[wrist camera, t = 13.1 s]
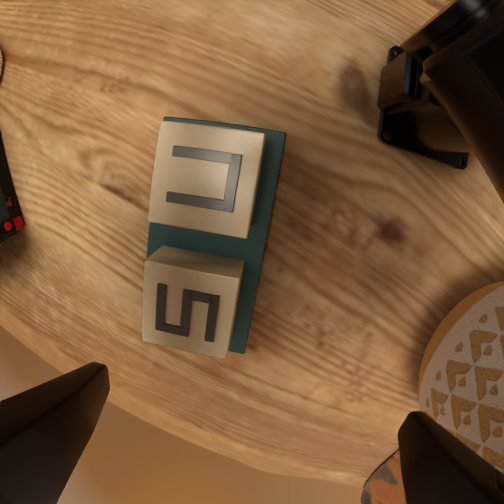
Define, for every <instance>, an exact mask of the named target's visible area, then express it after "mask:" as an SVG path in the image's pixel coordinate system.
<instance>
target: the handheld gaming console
mask: <svg viewBox="0 0 504 504" xmlns="http://www.w3.org/2000/svg"><path fill="white" fill-rule="evenodd" d="M21 215H22V214H21V211H20V207H19V204H18V201H17V198H16V195H15V191H14V188H13V184H12V181H11V177H10V173H9V170H8V166H7V162H6V157H5V153H4V149H3V144H2V139H1V134H0V243H2V242H3V241H5V240H6V239H8V238H9V237H11V236H12V235H14V234H15V233H17V232H18V231H19V229H21V228H22V227H23V226H24V223H23V220H22V217H21ZM19 216H20V217H19Z"/></svg>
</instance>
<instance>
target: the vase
mask: <svg viewBox="0 0 504 504" xmlns="http://www.w3.org/2000/svg"><path fill="white" fill-rule="evenodd" d="M418 399H419V409H420V411H422V412H424V413H426V414H427V415H428V416H429V417H431V418H432V419H433V420H434V421H436V422H437V423H438V424H440V425H441V426H442V427H443V428H445V429H446V430H447V431H448V432H450V433H451V434H452V435H454V436H455V437H456V438H457V439H459V440H460V441H461V442H463V443H464V444H465V445H466V446H468V447H469V448H470V449H472V450H473V451H474V452H475V453H477V454H478V455H479V456H481V457H482V458H483V459H485V460H486V461H487V462H488V463H490V464H491V465H492V466H494V467H495V469H498V470H499V471H500V472H502V473H503V474H504V281H500V282H496V283H493V284H490V285H486V286H484V287H482V288H480V289H478V290H476V291H474V292H472V293H471V294H469V295H468V296H467V297H465V298H464V299H463V300H461V301H460V302H459V303H458V304H457V305H456V306H455V307H454V308H453V309H452V310H451V311H450V312H449V313H448V314H447V315H446V316H445V318H444V319H443V320H442V321H441V322H440V324H439V326H438V327H437V329H436V330H435V332H434V334H433V335H432V337H431V339H430V341H429V343H428V345H427V347H426V350H425V353H424V357H423V360H422V363H421V367H420V373H419V380H418Z"/></svg>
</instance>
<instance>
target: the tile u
mask: <svg viewBox="0 0 504 504" xmlns="http://www.w3.org/2000/svg"><path fill="white" fill-rule="evenodd" d="M265 144H266V136H265V134H264V133H259V132H253V131H247V130H240V129H233V128H226V127H219V126H211V125H202V124H193V123H184V122H173V121H161V123H160V129H159V135H158V142H157V148H156V155H155V162H154V170H153V177H152V185H151V194H150V203H149V213H148V221H149V222H154V223H160V224H165V225H171V226H177V227H183V228H188V229H194V230H200V231H205V232H211V233H217V234H222V235H228V236H233V237H239V238H244V239H246V238H247V237H248V234H249V231H250V227H251V223H252V218H253V212H254V206H255V201H256V195H257V189H258V184H259V178H260V172H261V167H262V161H263V155H264V150H265Z"/></svg>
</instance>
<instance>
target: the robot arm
mask: <svg viewBox="0 0 504 504" xmlns="http://www.w3.org/2000/svg"><path fill="white" fill-rule="evenodd" d="M394 51H396V52H397V53H398V54H399V56H398V57H397V56H396V55H395V54H394ZM377 105H378V107H379V109H380V110H381V115H380V121H379V128H378V139H379V141H380V142H381V143H383V144H385V145H389V146H392V147H395V148H398V149H402V150H405V151H408V152H411V153H414V154H417V155H420V156H423V157H426V158H429V159H432V160H435V161H437V162H440V163H443V164H446V165H448V166H451V167H454V168H456V169H462V170H463V169H465V168H466V167H467V163H468V157H469V153H474V154H475V156H476V157H477V159H478V160H479V162H480V163H481V165H482V167H483V168H484V170H485V172H486V173H487V175H488V177H489V178H490V180H491V182H492V184H493V185H494V187H495V189H496V191H497V192H498V194H499V196H500V198H501V200H502V202H503V204H504V0H453V1H452V2H450V3H449V4H448V5H447V6H445V7H444V8H443V9H442V10H441V11H439V12H438V13H437V14H436V15H435V16H434V17H432V18H431V19H430V20H429V21H428V22H426V23H425V24H424V25H423V26H422V27H421V28H420V29H418V30H417V31H416V32H415V33H414V34H413V35H411V36H410V37H409V38H408V39H407V40H406V41H405V42H403V43H402V44H401V45H400V47H399V46H393V47H392V48H391V49H389V51H388V58H387V65H386V66H385V67H384V68H382V72H381V80H380V88H379V96H378V103H377ZM384 132H387V133H388V134H389V139H388V140H386V139H385V138H384V135H383V134H384ZM459 159H461V165H460V164H459ZM109 390H110V383H109V375H108V368H107V366H106V365H104V364H101V363H98V362H91V363H89V364H87V365H85V366H82V367H80V368H78V369H75V370H73V371H71V372H69V373H66V374H64V375H62V376H59V377H57V378H55V379H52V380H50V381H48V382H45V383H43V384H41V385H38V386H36V387H34V388H31V389H29V390H26V391H24V392H22V393H19V394H17V395H14V396H12V397H9V398H7V399H5V400H2V401H0V504H56V503H57V501H58V499H59V497H60V495H61V493H62V491H63V489H64V487H65V485H66V483H67V481H68V479H69V478H70V476H71V474H72V472H73V470H74V468H75V466H76V464H77V462H78V460H79V458H80V456H81V454H82V452H83V451H84V449H85V447H86V445H87V443H88V441H89V439H90V438H91V436H92V434H93V431H94V429H95V427H96V424H97V421H98V419H99V416H100V414H101V411H102V408H103V406H104V404H105V401H106V399H107V396H108V394H109ZM398 443H399V453H400V465H401V475H402V481H403V487H404V492H405V498H406V504H504V474H503V473H502V472H500V471H499V470H498V469H495V467H494V466H492V465H491V464H490V463H488V462H487V461H486V460H485V459H483V458H482V457H481V456H479V455H478V454H477V453H475V452H474V451H473V450H472V449H470V448H469V447H468V446H466V445H465V444H464V443H463V442H461V441H460V440H459V439H457V438H456V437H455V436H454V435H452V434H451V433H450V432H448V431H447V430H446V429H445V428H443V427H442V426H441V425H440V424H438V423H437V422H436V421H434V420H433V419H432V418H431V417H429V416H428V415H427V414H426V413H424V412H422V411H412V412H410V413H409V414H408V416H407V417H406V419H405V421H404V422H403V424H402V425H401V427H400V429H399V431H398Z"/></svg>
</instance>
